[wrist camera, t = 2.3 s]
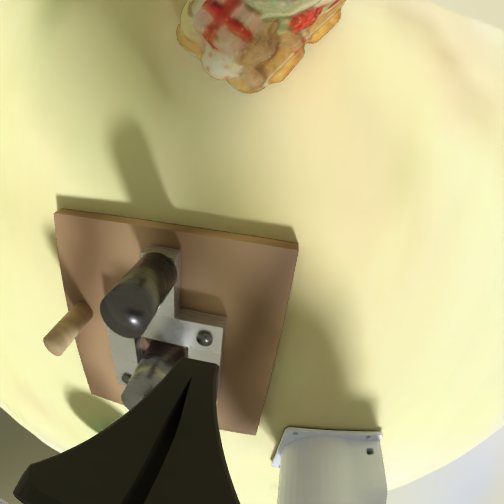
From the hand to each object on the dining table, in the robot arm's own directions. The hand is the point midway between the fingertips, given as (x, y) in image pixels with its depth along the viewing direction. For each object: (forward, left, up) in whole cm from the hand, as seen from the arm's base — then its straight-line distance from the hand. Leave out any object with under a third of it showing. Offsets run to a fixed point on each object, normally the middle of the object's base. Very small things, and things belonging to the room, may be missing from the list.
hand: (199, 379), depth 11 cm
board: (+5, +7, -9) cm, 13 cm away
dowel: (+11, +5, -9) cm, 15 cm away
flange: (+4, +5, -8) cm, 10 cm away
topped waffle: (0, -14, -10) cm, 17 cm away
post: (+4, +7, -9) cm, 12 cm away
